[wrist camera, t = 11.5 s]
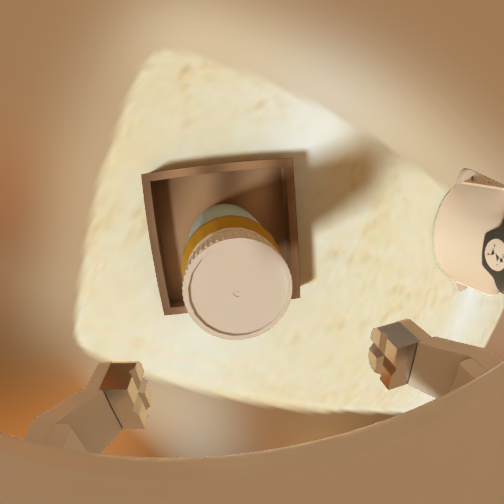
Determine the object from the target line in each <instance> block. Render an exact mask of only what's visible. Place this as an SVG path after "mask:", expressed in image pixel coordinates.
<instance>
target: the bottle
mask: <svg viewBox="0 0 504 504" xmlns="http://www.w3.org/2000/svg"><path fill="white" fill-rule="evenodd" d="M182 274H183V286H182V290H183V292H182V295H183V301H184V303H185V306H186V309H187V311H188V313H189V315H190V316H191V318H192V319H193V320H194V322H195V323H196V324H197V325H198V326H199V327H200V328H202V329H203V330H204V331H206V332H208V333H209V334H211V335H214V336H216V337H219V338H223V339H229V340H243V339H249V338H253V337H256V336H258V335H261V334H263V333H265V332H266V331H268V330H269V329H271V328H272V327H273V326H274V325H276V324H277V323H278V322H279V321H280V319H281V318H282V317H283V315H284V314H285V312H286V310H287V308H288V306H289V304H290V301H291V296H292V288H293V286H292V278H291V277H292V276H291V274H290V269H289V268H288V264H287V263H286V262H285V259H284V258H283V257H282V255H281V254H280V251H279V248H278V246H277V244H276V242H275V240H274V238H273V237H272V235H271V234H270V233H269V232H268V231H267V230H266V229H265V228H264V227H263V226H262V225H261V224H260V223H259V222H258V221H257V220H256V219H255V218H254V217H253V216H252V215H251V214H250V213H248V212H247V211H246V210H245V209H243V208H241V207H239V206H236V205H232V204H218V205H214V206H211V207H209V208H208V209H206V210H204V211H203V212H202V213H201V214H200V215H199V216H198V217H197V218H196V220H195V221H194V224H193V226H192V228H191V231H190V234H189V237H188V240H187V243H186V245H185V248H184V252H183V257H182Z"/></svg>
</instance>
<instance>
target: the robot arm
mask: <svg viewBox="0 0 504 504" xmlns="http://www.w3.org/2000/svg"><path fill="white" fill-rule="evenodd" d="M433 244H434V253H435V257H436V261H437V263H438V265H439V267H440V269H441V270H442V271H443V272H444V273H445V274H446V275H447V276H448V277H449V278H450V279H451V282H452V285H453V287H454V289H455V290H458V291H462V290H464V289H465V288H467V287H469V288H471V289H474V290H476V291H478V292H481V293H483V294H486V295H488V296H494V295H495V294H498V293H499V292H501V293H503V294H504V185H503V184H501V183H499V182H497V181H495V180H492V179H490V178H488V177H486V176H484V175H481V174H479V173H477V172H475V171H472V170H470V169H465V168H464V169H462V171H461V172H460V175H459V177H458V179H457V182H456V184H455V186H454V187H453V189H451V190H450V191H449V193H448V194H447V195H446V197H445V198H444V200H443V202H442V204H441V206H440V208H439V211H438V214H437V217H436V221H435V227H434V237H433ZM370 339H371V340H372V341H373V344H372V346H371V347H370V348H369V356H368V357H369V363H370V365H371V368H372V369H373V371H374V372H376V373H378V374H381V377H380V380H381V381H382V382H383V384H384V385H385V386H386V388H387V389H388V390H390V389H393V388H396V387H399V386H402V385H405V384H408V385H410V386H412V387H414V388H416V389H418V390H420V391H422V392H424V393H426V394H428V395H430V396H432V397H435V398H437V399H435V400H433V401H431V402H428V403H426V404H424V405H422V406H419V407H417V408H415V409H412V410H410V411H408V412H405V413H403V414H400V415H397V416H395V417H392V418H390V419H387V420H384V421H381V422H378V423H375V424H373V425H370V426H366V427H363V428H360V429H357V430H354V431H350V432H347V433H343V434H340V435H336V436H332V437H328V438H325V439H320V440H317V441H312V442H308V443H303V444H298V445H293V446H288V447H283V448H278V449H271V450H265V451H259V452H251V453H243V454H234V455H225V456H212V457H193V458H145V457H128V456H115V455H105V454H100V453H101V452H102V451H103V450H104V448H106V447H107V446H108V445H109V444H110V442H111V441H112V440H113V439H114V438H115V437H116V436H117V435H118V434H119V433H120V432H121V431H122V429H145V428H146V423H147V418H148V414H147V412H146V409H147V408H149V407H150V404H151V391H150V386H149V383H148V381H147V380H146V379H144V378H143V374H144V369H143V367H142V364H141V363H140V362H139V361H135V362H100V363H98V365H97V367H96V369H95V371H94V373H93V374H92V377H91V378H90V380H89V382H88V384H87V386H86V388H85V389H80V390H79V391H77V392H76V393H74V394H73V395H71V396H70V397H68V398H66V399H65V400H63V401H62V402H60V403H58V404H57V405H56V406H54V407H52V408H51V409H49V410H47V411H46V412H44V413H43V414H41V415H39V416H38V417H36V418H35V419H34V421H33V423H32V425H31V426H30V428H29V430H28V432H27V434H26V435H25V438H24V439H21V438H18V437H14V436H11V435H8V434H4V433H1V432H0V504H504V362H502V361H501V360H500V359H498V358H497V357H496V356H495V355H493V354H492V353H491V352H490V351H488V350H487V349H485V348H481V347H476V346H472V345H468V344H464V343H459V342H455V341H451V340H447V339H443V338H439V337H431V336H430V335H428V334H427V333H426V332H425V331H424V330H422V329H421V328H420V327H419V326H417V325H416V324H415V323H414V322H413V321H411V320H410V319H404V320H401V321H398V322H395V323H392V324H388V325H385V326H381V327H377V328H373V330H372V332H371V338H370Z"/></svg>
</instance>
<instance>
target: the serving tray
mask: <svg viewBox="0 0 504 504" xmlns="http://www.w3.org/2000/svg"><path fill="white" fill-rule="evenodd" d="M141 176H142V185H143V194H144V202H145V210H146V217H147V224H148V230H149V237H150V243H151V249H152V255H153V261H154V266H155V271H156V277H157V282H158V287H159V292H160V297H161V301H162V306H163V311H164V315H172V314H182V313H188V311H187V309H186V306H185V303H184V301H183V295H182V292H183V290H182V286H183V274H182V257H183V252H184V248H185V245H186V243H187V240H188V237H189V234H190V231H191V228H192V226H193V224H194V221H195V220H196V218H197V217H198V216H199V215H200V214H201V213H202V212H203V211H204V210H206V209H208V208H209V207H211V206H214V205H218V204H232V205H236V206H239V207H241V208H243V209H245V210H246V211H247V212H248V213H250V214H251V215H252V216H253V217H254V218H255V219H256V220H257V221H258V222H259V223H260V224H261V225H262V226H263V227H264V228H265V229H266V230H267V231H268V232H269V233H270V234H271V235H272V237H273V238H274V240H275V242H276V244H277V246H278V248H279V251H280V254H281V255H282V257H283V258H284V259H285V262H286V263H287V264H288V268H289V269H290V274H291V276H292V277H291V278H292V286H293V288H292V296H291V299H295V298H300V279H299V255H298V234H297V217H296V201H295V187H294V173H293V161H292V158H287V159H270V160H256V161H244V162H233V163H223V164H213V165H204V166H196V167H188V168H181V169H173V170H166V171H160V172H153V173H147V174H141Z"/></svg>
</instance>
